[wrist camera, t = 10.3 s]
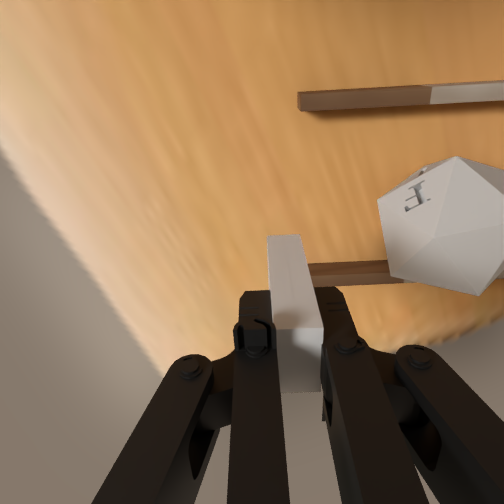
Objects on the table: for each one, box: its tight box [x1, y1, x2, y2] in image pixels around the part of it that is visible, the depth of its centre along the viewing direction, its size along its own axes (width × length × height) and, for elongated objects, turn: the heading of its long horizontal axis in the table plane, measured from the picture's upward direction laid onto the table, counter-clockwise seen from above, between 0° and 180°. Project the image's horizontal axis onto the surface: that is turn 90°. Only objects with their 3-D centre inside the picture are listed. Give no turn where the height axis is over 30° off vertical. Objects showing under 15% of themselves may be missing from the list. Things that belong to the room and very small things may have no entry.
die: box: [377, 156, 504, 296], centre depth 25 cm, size 8×9×10 cm
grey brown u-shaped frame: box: [298, 80, 504, 287], centre depth 27 cm, size 14×18×3 cm
